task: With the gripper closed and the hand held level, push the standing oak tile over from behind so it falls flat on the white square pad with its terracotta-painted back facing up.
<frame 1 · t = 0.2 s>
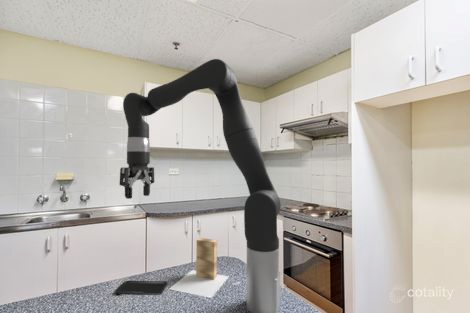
hand: (138, 197, 86), 29 cm above the countertop, tool pointing down, fingers open, 8 cm apart
white square pad: (200, 283, 83), on the countertop
oak tile: (206, 276, 87), resting on white square pad
phone: (142, 291, 79), on the countertop
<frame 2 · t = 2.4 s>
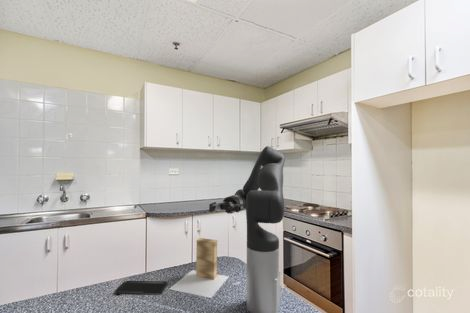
hand: (219, 210, 99), 22 cm above the countertop, tool horizontal, fingers open, 7 cm apart
nothing on the countertop moved.
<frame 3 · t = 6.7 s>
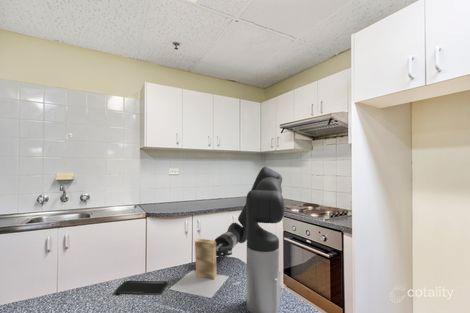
hand: (207, 257, 88), 7 cm above the countertop, tool horizontal, fingers closed
oak tile: (206, 276, 87), point 1 cm above the countertop, tilted 6°, touching white square pad, gripper
everything else where it was.
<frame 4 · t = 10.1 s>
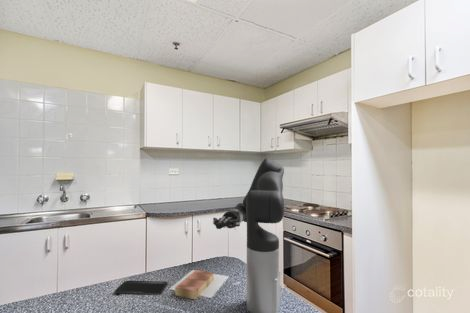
hand: (218, 226, 97), 16 cm above the countertop, tool horizontal, fingers closed
oak tile: (204, 274, 86), point 2 cm above the countertop, tilted 90°, touching white square pad
everything else where it was.
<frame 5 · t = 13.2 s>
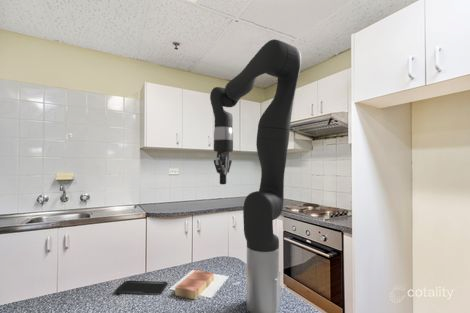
hand: (223, 184, 94), 33 cm above the countertop, tool pointing down, fingers closed
nothing on the countertop moved.
at the end: oak tile tilted 90°; oak tile inside the target area on the white square pad (3.1 cm from its centre), point 1.6 cm above the white square pad's base; oak tile touching white square pad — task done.
